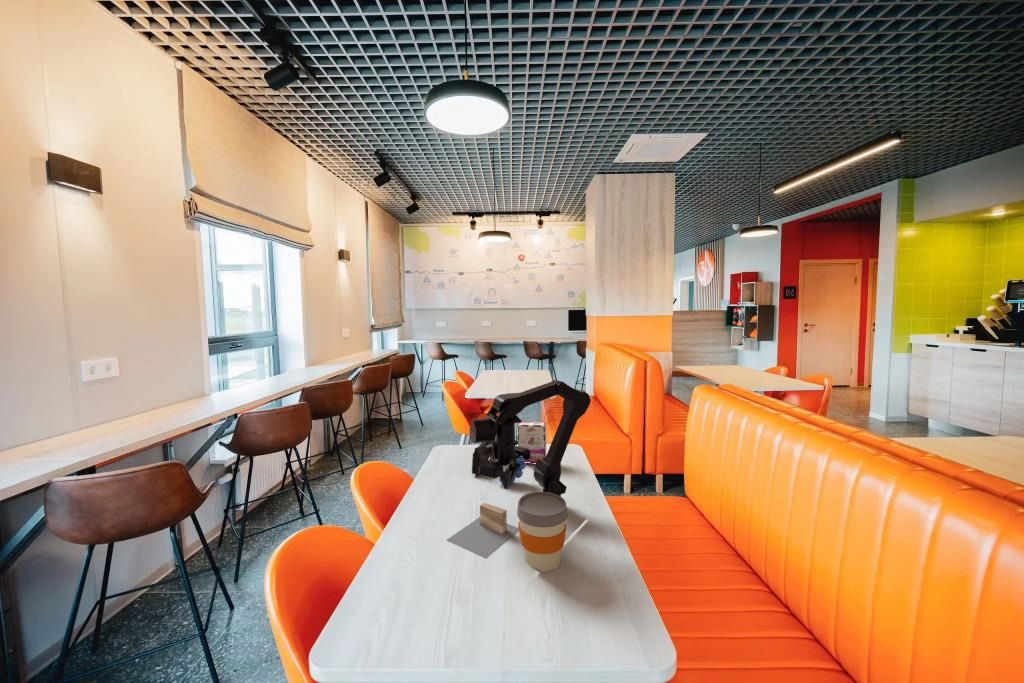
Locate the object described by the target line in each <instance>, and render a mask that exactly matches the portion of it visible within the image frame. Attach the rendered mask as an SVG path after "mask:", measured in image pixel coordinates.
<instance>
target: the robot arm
mask: <svg viewBox="0 0 1024 683" xmlns="http://www.w3.org/2000/svg"><path fill="white" fill-rule="evenodd" d="M556 396H559V397H560V398H562V399H563V402H562V412H563V413H562V416H561V418H560V421H559V424H558V425H557V428H556V431H555V433H554V436H553V439H552V441H551V443H550V446H549V449H548V451H547V452H546V456H545V457H544V458H543V459H542V460H541V459H539V458H538V460H537V463H536V464H535V465H534V468H532V470H533V478H534V480H535V481H536V482H537V483H538V485H539V486H540V487H542V492H549V493H554V494H557V495H559V496H561V497H562V494H566V491H567V485H565V484H564V483H563V482H562V481H561V476H562V461H563V458H564V455H565V453H566V451H567V448H568V445H569V442H570V440H571V438H572V435H573V434H574V433H573V432H574V430H575V427H576V424H577V422H578V420H579V419H580V418H581V417H583V415H585V414H586V412H587V411H588V408H589V407H590V405H591V402H592V400H591V397H590V395H589V393H588V392H585V391H583V390H580V389H577V388H573V387H571V386H570V385H568V384H566V383H565V381H562V380H559V379H552V381H549V382H547V383H543V384H541V385H538V386H535V387H532V388H530V389H525V390H524V391H521V392H511V393H509V392H508V393H503V394H499V395H496V396H495V397H494V399H493V401H492V405H491V407H490V408H489V410H488V412H487V413H486V415H485V417H484V418H472V419H471V424H470V425H469V426H470V428H469V438H470V441H471V443H472V444H481V443H482V442H487V441H492V440H493V439H496V441H494V442H493V443H492V444H489V445H487V446H485V445H483V446H479V445H478V446H479V447H478V446H477V447H478V456H479V457H482V458H483V459H485V458H487V457H490V459H491V460H496V461H491V460H489V461H487V462H485V463H483V464H481V465H480V466H479V474H478V475H481V476H485V477H488V478H491V479H497V478H500V479H501V481H502V483H501V484H502V487H503V489H504V490H508V489H509V488H510V486H511V484H512V483H511V482H512V480H513V478H514V476H515V474H516V472H517V470H518V468H519V467H520V464H518V463H516V459H518V458H519V457H521V456H523V459H524V460H527V459H529V458H530V451H529V449H528V448H523V447H519V446H518V439H517V440H516V424H519V422H523V420H522V419H521V418H520V417H519V416H518V414H520V413H522V411H523V410H524V409H525V408H526V407H529V406H531V405H533V404H537V403H541V402H542V401H545V400H548V399H550V398H553V397H556ZM497 414H498V415H497ZM499 476H500V477H499Z"/></svg>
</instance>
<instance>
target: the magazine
mask: <svg viewBox="0 0 1024 683" xmlns="http://www.w3.org/2000/svg"><path fill="white" fill-rule="evenodd" d="M494 441H496V438H495V439H493V440H492V441H487V442H481V443H479V445H478V446H477V447H474V451H473V453H472V457H471V458H472V461H471V474H472V475H480V474H479V466H480V465H481V464H483V463H485V462H487V461H488V459H489V457H487V458H485V459H483V458H482V457H479V456H478V447H479V446H483V445H485V446H487V445H489V444H492V443H493V442H494Z"/></svg>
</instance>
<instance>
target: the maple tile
mask: <svg viewBox="0 0 1024 683" xmlns="http://www.w3.org/2000/svg"><path fill="white" fill-rule="evenodd" d="M507 513H508V509H507V510H506V509H505V508H502V507H498V506H496V505H494V504H490V503H487V502H483V503H481V504H480V505H479V517H480V525H481V526H484V527H486V528H489V529H491V530H494V531H496V532H498V533H501V534H503V533H504V532H505V531H507V524H508V520H507V518H508V517H507V516H508V515H507Z"/></svg>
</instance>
